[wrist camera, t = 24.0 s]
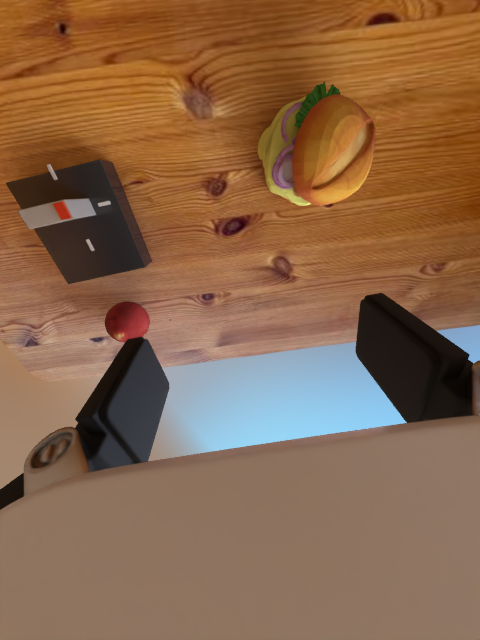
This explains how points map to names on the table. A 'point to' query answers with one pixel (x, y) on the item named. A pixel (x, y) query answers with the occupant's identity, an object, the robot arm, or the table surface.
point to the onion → (127, 321)
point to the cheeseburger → (317, 149)
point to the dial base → (86, 221)
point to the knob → (57, 212)
